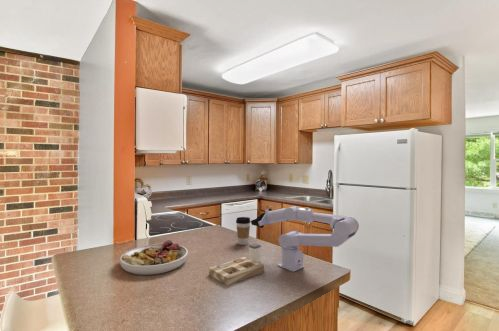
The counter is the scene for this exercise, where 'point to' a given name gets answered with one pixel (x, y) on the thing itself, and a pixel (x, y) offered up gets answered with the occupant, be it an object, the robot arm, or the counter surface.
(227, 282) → the socket block
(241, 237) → the coffee cup
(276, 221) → the robot arm
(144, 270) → the bowl
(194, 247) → the counter surface
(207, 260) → the counter surface
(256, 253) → the plug
